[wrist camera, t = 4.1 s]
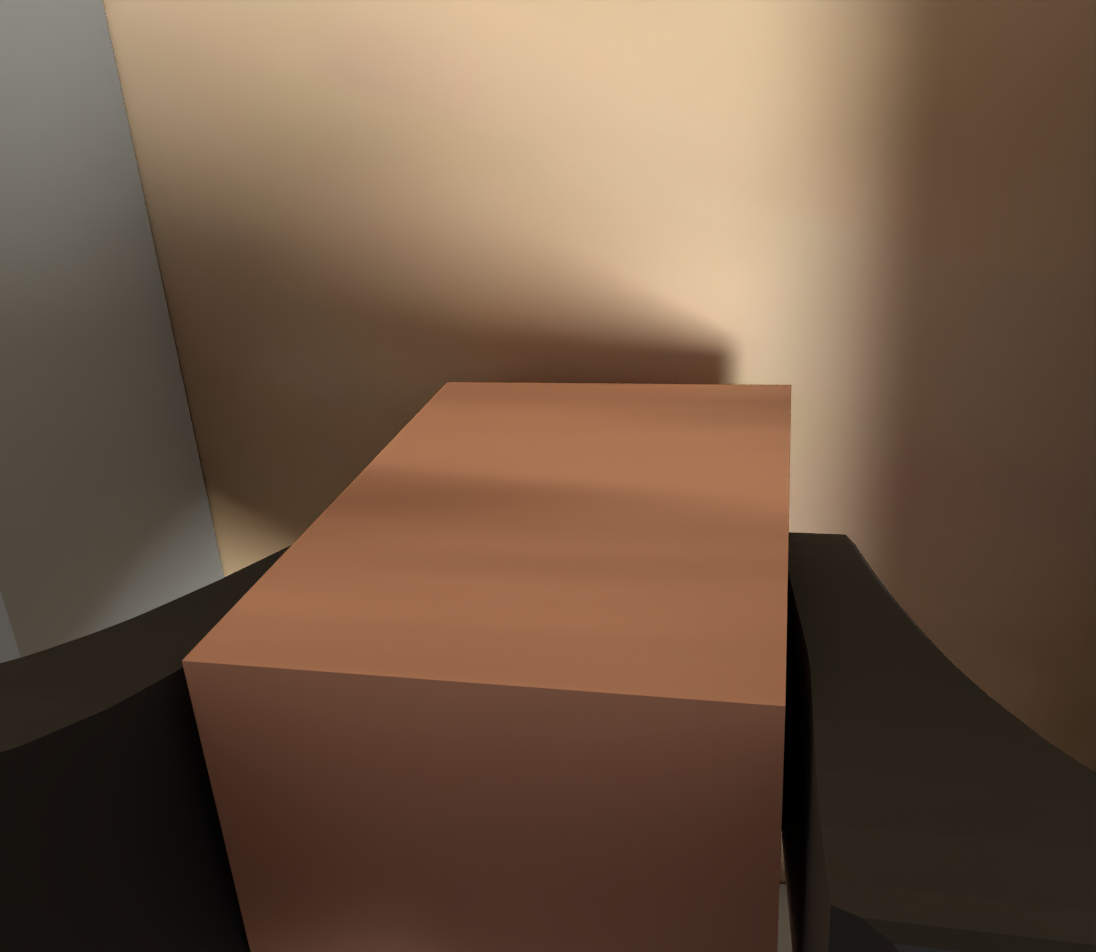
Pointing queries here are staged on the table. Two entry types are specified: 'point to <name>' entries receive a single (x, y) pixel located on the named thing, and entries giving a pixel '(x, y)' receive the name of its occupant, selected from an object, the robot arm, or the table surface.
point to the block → (519, 683)
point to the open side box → (89, 356)
